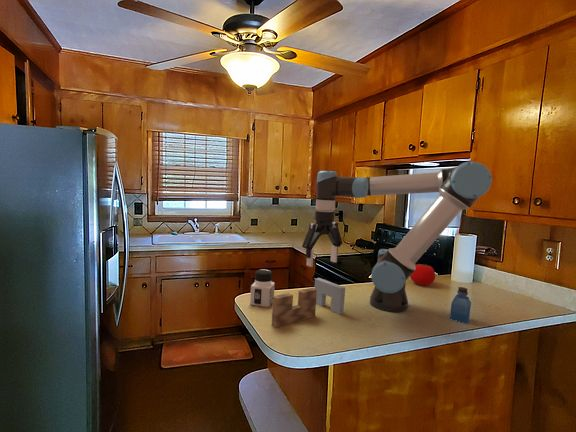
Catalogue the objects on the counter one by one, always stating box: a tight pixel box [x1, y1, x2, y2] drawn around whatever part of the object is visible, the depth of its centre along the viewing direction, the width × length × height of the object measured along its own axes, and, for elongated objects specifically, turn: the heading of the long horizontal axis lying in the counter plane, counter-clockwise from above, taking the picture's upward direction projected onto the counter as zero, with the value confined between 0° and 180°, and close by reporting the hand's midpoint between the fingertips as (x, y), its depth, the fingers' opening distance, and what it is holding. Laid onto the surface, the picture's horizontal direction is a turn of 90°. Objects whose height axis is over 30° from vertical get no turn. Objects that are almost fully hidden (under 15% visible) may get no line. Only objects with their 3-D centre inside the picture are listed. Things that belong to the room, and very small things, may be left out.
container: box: [249, 268, 275, 308], centre depth 133 cm, size 8×8×13 cm
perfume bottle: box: [449, 286, 472, 324], centre depth 127 cm, size 6×6×12 cm
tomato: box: [409, 263, 436, 287], centre depth 170 cm, size 11×12×10 cm
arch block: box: [313, 277, 346, 315], centre depth 131 cm, size 14×2×10 cm, turn 39°
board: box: [271, 287, 317, 328], centre depth 118 cm, size 18×2×10 cm, turn 129°
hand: (321, 264), depth 133 cm, fingers open, 13 cm apart
